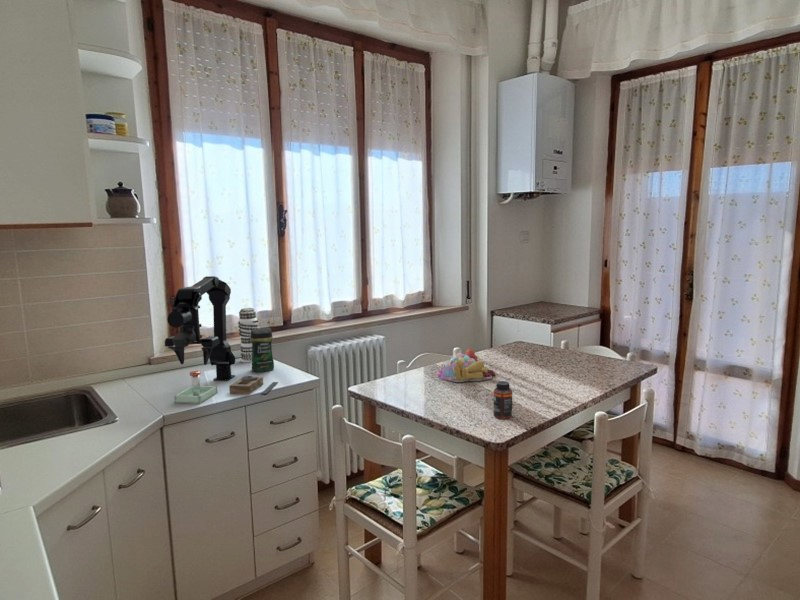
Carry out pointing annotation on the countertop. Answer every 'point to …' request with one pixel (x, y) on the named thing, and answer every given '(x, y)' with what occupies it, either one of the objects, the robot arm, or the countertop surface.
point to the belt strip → (269, 388)
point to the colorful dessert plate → (465, 368)
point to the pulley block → (246, 384)
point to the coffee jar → (262, 350)
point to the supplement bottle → (502, 400)
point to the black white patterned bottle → (246, 332)
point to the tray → (188, 396)
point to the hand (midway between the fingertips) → (193, 364)
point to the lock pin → (195, 383)
